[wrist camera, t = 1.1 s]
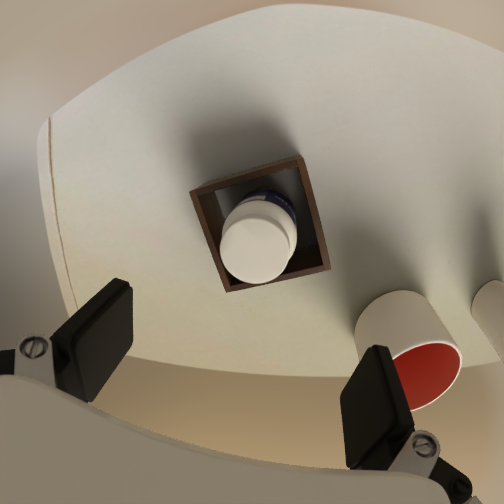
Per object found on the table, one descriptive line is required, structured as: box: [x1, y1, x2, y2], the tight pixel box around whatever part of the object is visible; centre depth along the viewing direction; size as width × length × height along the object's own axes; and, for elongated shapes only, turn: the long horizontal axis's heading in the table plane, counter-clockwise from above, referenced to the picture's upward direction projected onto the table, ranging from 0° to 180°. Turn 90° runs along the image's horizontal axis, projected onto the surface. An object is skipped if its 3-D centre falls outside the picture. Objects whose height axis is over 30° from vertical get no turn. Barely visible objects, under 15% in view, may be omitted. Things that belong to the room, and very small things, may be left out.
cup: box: [354, 290, 462, 411], centre depth 26 cm, size 10×10×10 cm
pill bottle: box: [220, 188, 297, 284], centre depth 24 cm, size 6×6×10 cm
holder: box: [189, 155, 331, 293], centre depth 26 cm, size 10×10×5 cm
